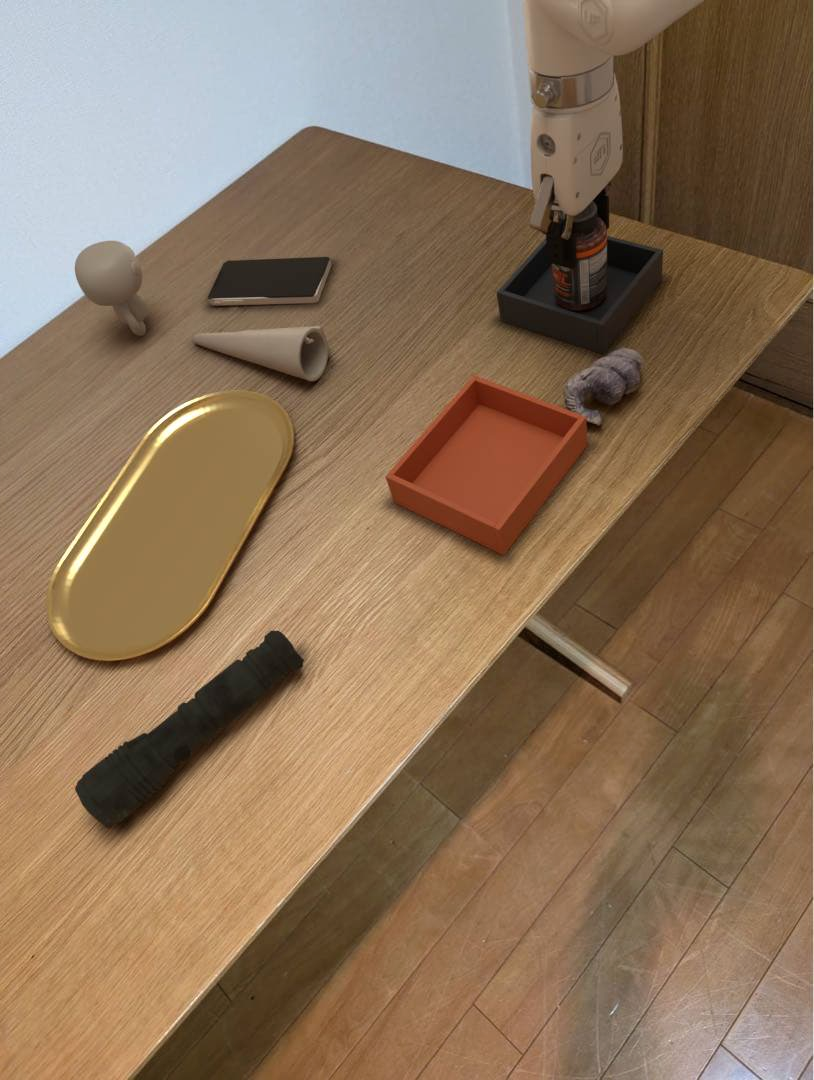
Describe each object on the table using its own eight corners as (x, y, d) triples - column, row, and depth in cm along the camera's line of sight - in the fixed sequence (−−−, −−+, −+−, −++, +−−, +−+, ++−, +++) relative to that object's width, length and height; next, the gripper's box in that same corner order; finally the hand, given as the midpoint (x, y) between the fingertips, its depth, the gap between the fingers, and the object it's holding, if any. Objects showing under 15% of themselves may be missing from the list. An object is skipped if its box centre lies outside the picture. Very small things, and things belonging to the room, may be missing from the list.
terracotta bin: (587, 445, 84) (586, 416, 81) (503, 555, 79) (499, 530, 76) (478, 402, 91) (473, 374, 88) (393, 502, 85) (384, 476, 82)
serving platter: (18, 641, 84) (9, 633, 83) (187, 390, 101) (181, 380, 100) (172, 688, 78) (164, 680, 76) (325, 410, 95) (321, 401, 94)
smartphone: (315, 297, 105) (205, 300, 109) (318, 305, 106) (209, 307, 110) (330, 255, 110) (224, 259, 113) (332, 263, 111) (228, 267, 114)
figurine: (174, 335, 108) (131, 256, 99) (119, 358, 108) (70, 281, 98) (162, 301, 113) (120, 222, 103) (109, 323, 113) (62, 246, 103)
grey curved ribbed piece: (580, 439, 87) (636, 380, 90) (608, 422, 82) (666, 361, 85) (545, 400, 86) (603, 343, 90) (571, 381, 81) (631, 321, 85)
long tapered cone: (158, 345, 101) (292, 350, 92) (187, 315, 105) (318, 316, 96) (179, 385, 105) (309, 392, 96) (206, 354, 108) (334, 358, 100)
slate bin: (662, 280, 96) (663, 249, 93) (602, 354, 91) (602, 325, 88) (560, 252, 102) (558, 223, 99) (500, 320, 98) (496, 292, 94)
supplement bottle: (543, 296, 98) (536, 209, 89) (585, 272, 99) (582, 183, 90) (575, 321, 94) (571, 233, 85) (618, 296, 95) (618, 206, 86)
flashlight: (93, 795, 73) (63, 774, 69) (284, 641, 78) (266, 614, 74) (119, 838, 70) (89, 819, 66) (314, 675, 76) (297, 649, 72)
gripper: (557, 134, 72) (567, 304, 86) (655, 33, 78) (650, 207, 92) (483, 120, 75) (505, 286, 89) (583, 24, 82) (589, 193, 96)
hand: (578, 244), depth 91 cm, fingers closed on supplement bottle, 5 cm apart
